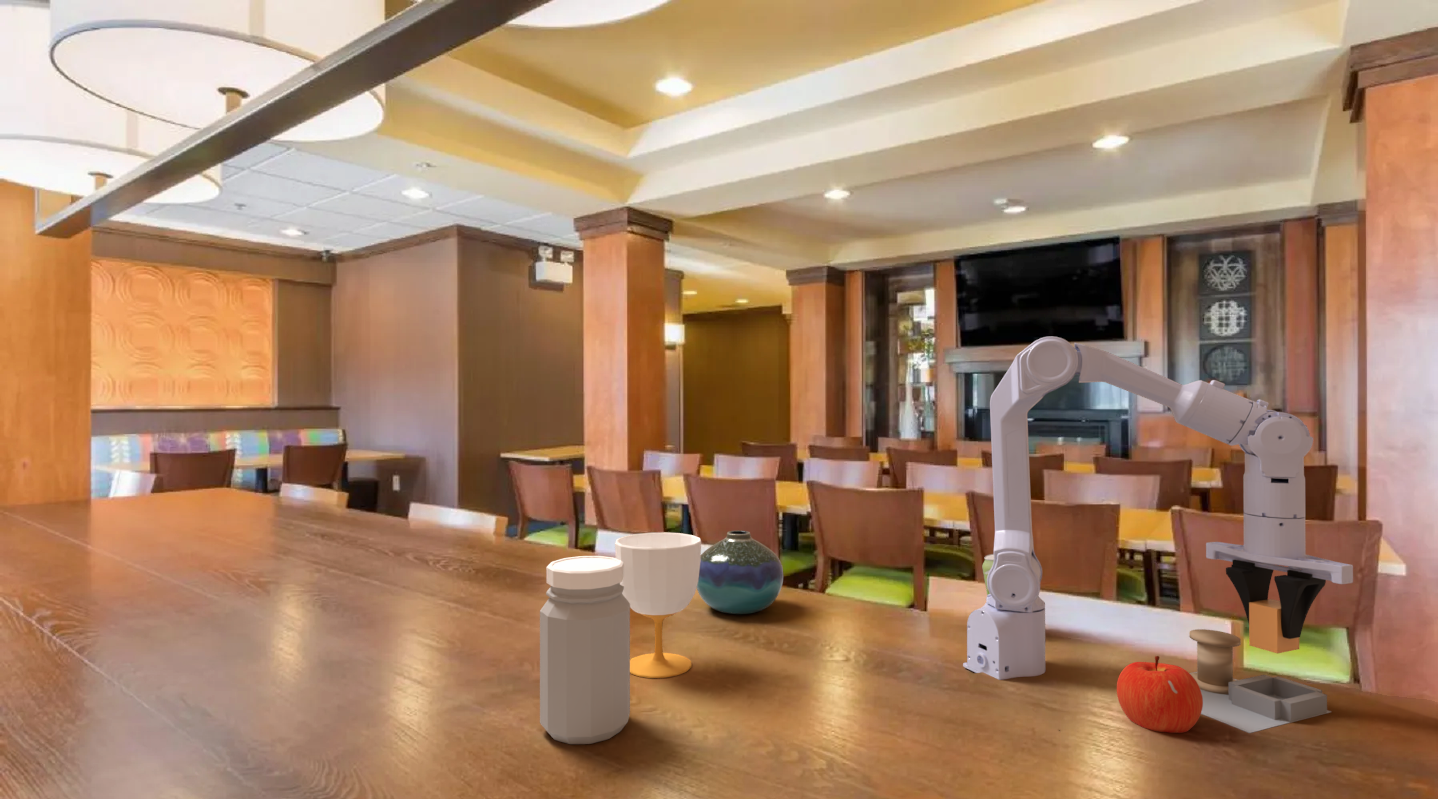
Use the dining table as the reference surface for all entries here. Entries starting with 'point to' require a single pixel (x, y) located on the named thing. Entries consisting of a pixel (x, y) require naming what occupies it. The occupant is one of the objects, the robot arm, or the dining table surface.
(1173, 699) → the apple
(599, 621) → the jar
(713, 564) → the vase
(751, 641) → the dining table surface
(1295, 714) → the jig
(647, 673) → the cup
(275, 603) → the dining table surface
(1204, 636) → the knob
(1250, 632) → the block
